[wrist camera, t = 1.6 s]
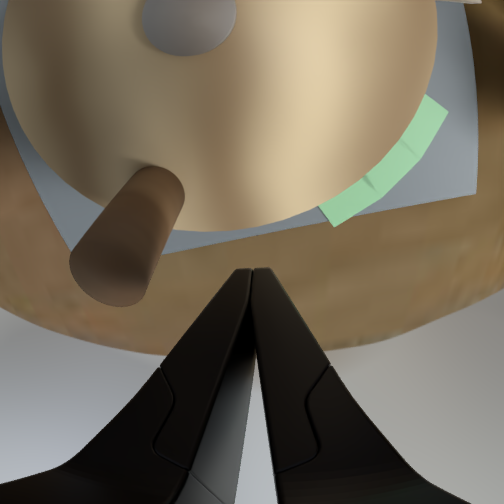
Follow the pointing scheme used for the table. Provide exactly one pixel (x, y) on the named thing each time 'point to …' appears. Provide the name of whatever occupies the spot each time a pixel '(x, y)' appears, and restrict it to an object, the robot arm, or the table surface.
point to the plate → (357, 195)
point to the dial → (209, 111)
